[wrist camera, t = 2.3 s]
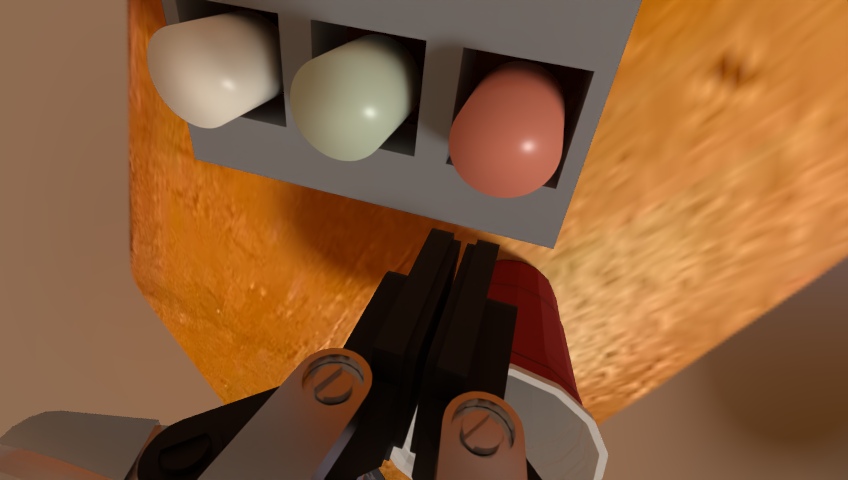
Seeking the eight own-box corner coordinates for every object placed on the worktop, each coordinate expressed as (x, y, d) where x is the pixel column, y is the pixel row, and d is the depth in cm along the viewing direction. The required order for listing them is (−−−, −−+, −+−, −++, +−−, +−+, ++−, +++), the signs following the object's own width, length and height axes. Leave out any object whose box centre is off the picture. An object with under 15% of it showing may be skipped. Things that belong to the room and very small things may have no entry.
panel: (203, -92, 22) (140, -96, 19) (637, -28, 19) (649, -21, 16) (236, 134, 29) (195, 159, 26) (556, 210, 26) (553, 248, 23)
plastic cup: (637, 288, 27) (670, 478, 18) (527, 369, 34) (508, 539, 24) (492, 190, 26) (444, 335, 17) (408, 293, 33) (340, 439, 23)
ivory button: (210, 3, 22) (135, 16, 19) (289, 18, 22) (227, 34, 18) (224, 90, 25) (160, 117, 21) (294, 105, 24) (242, 137, 20)
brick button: (480, 53, 20) (457, 80, 16) (578, 71, 19) (578, 103, 16) (464, 142, 23) (441, 184, 19) (550, 161, 22) (544, 208, 18)
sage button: (338, 26, 21) (286, 46, 17) (425, 42, 21) (391, 66, 17) (338, 115, 24) (293, 149, 20) (416, 132, 23) (384, 170, 19)
